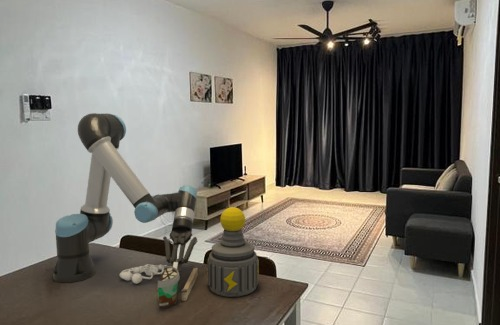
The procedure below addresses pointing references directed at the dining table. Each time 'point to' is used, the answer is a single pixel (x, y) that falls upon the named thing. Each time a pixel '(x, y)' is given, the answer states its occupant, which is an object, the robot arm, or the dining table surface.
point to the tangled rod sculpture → (136, 276)
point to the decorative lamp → (233, 259)
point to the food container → (168, 287)
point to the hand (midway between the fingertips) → (173, 281)
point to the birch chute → (187, 285)
